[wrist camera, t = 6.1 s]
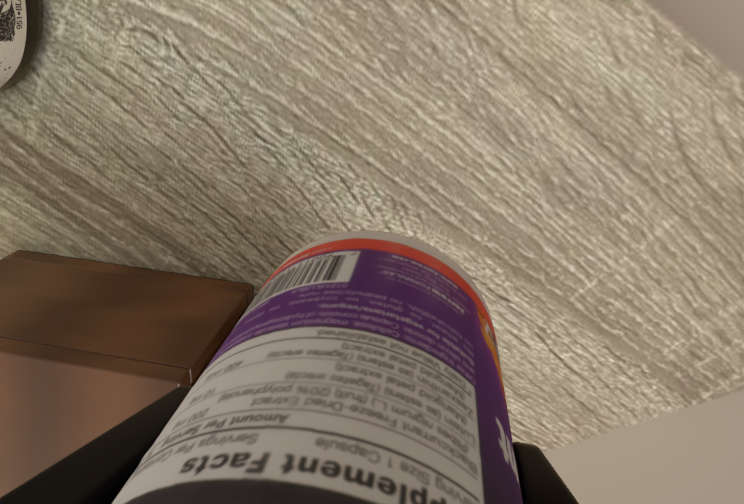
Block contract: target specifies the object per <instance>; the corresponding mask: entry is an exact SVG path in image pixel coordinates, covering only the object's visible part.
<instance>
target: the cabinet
mask: <svg viewBox="0 0 744 504" xmlns="http://www.w3.org/2000/svg"><path fill="white" fill-rule="evenodd" d="M252 301H253V285H250V284H244V283H237V282H230V281H223V280H217V279H210V278H203V277H196V276H190V275H183V274H176V273H169V272H163V271H156V270H149V269H143V268H136V267H129V266H122V265H116V264H109V263H102V262H95V261H89V260H82V259H75V258H68V257H62V256H55V255H48V254H41V253H35V252H28V251H21V250H18V251H16V252H15V253H13V254H11V255H9V256H7V257H5V258H3V259H1V260H0V497H2V496H4V495H5V494H7V493H8V492H10V491H12V490H13V489H15V488H16V487H18V486H20V485H21V484H23V483H25V482H26V481H28V480H29V479H31V478H33V477H34V476H36V475H37V474H39V473H41V472H42V471H44V470H45V469H47V468H49V467H50V466H52V465H53V464H55V463H57V462H58V461H60V460H61V459H63V458H65V457H66V456H68V455H69V454H71V453H73V452H74V451H76V450H78V449H79V448H81V447H82V446H84V445H86V444H87V443H89V442H90V441H92V440H94V439H95V438H97V437H98V436H100V435H102V434H103V433H105V432H106V431H108V430H110V429H111V428H113V427H114V426H116V425H118V424H119V423H121V422H122V421H124V420H126V419H127V418H129V417H130V416H132V415H134V414H135V413H137V412H139V411H140V410H142V409H143V408H145V407H147V406H148V405H150V404H151V403H153V402H155V401H156V400H158V399H159V398H161V397H163V396H164V395H166V394H167V393H169V392H171V391H172V390H174V389H175V388H177V387H179V386H191V383H193V381H194V380H195V379H196V377H197V376H198V374H199V373H200V372H201V370H202V369H203V367H204V366H205V365H206V363H207V362H208V360H209V359H210V358H211V356H212V355H213V353H214V352H215V351H216V349H217V348H218V346H219V345H220V344H221V342H222V341H223V339H224V338H225V337H226V335H227V334H228V332H229V331H230V330H231V328H232V327H233V325H234V324H235V322H236V321H237V320H238V319H239V320H240V319H241V317H242V316H243V314H244V313H245V311H246V310H247V309H248V307H249V306H250V304H251V303H252Z"/></svg>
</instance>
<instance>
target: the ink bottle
mask: <svg viewBox="0 0 744 504" xmlns="http://www.w3.org/2000/svg"><path fill="white" fill-rule="evenodd" d="M41 33H42V6H41V0H0V92H1V91H4V90H6V89H8V88H10V87H12V86H13V85H15V84H16V83H18V82H19V81H20V80H21V79H22V78H23V77H24V76H25V75H26V74H27V73H28V72H29V70H30V69H31V67H32V65H33V63H34V61H35V59H36V56H37V53H38V50H39V46H40V41H41Z"/></svg>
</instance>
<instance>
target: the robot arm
mask: <svg viewBox="0 0 744 504" xmlns="http://www.w3.org/2000/svg"><path fill="white" fill-rule="evenodd" d="M191 388H192V387H191V386H179V387H177V388H175V389H174V390H172V391H171V392H169V393H167V394H166V395H164V396H163V397H161V398H159V399H158V400H156V401H155V402H153V403H151V404H150V405H148V406H147V407H145V408H143V409H142V410H140V411H139V412H137V413H135V414H134V415H132V416H130V417H129V418H127V419H126V420H124V421H122V422H121V423H119V424H118V425H116V426H114V427H113V428H111V429H110V430H108V431H106V432H105V433H103V434H102V435H100V436H98V437H97V438H95V439H94V440H92V441H90V442H89V443H87V444H86V445H84V446H82V447H81V448H79V449H78V450H76V451H74V452H73V453H71V454H69V455H68V456H66V457H65V458H63V459H61V460H60V461H58V462H57V463H55V464H53V465H52V466H50V467H49V468H47V469H45V470H44V471H42V472H41V473H39V474H37V475H36V476H34V477H33V478H31V479H29V480H28V481H26V482H25V483H23V484H21V485H20V486H18V487H16V488H15V489H13V490H12V491H10V492H8V493H7V494H5V495H4V496H2V497H0V504H112V502H113V501H114V499H115V498H116V496H117V495H118V494H119V492H120V491H121V489H122V488H123V486H124V485H125V484H126V482H127V481H128V480H129V478H130V477H131V475H132V474H133V473H134V471H135V470H136V469H137V467H138V466H139V464H140V462H141V461H142V459H143V457H144V455H145V454H146V453H147V452H148V450H149V449H150V448H151V447H152V446H153V444H154V443H155V441H156V440H157V438H158V437H159V435H160V434H161V432H162V431H163V429H164V428H165V426H166V425H167V423H168V422H169V420H170V419H171V417H172V416H173V415H174V413H175V412H176V410H177V409H178V407H179V406H180V404H181V403H182V402H183V400H184V399H185V397H186V396H187V394H188V393H189V391H190V390H191ZM513 449H514V455H515V460H516V466H517V471H518V478H519V485H520V490H521V496H522V501H523V504H579V503H578V502H577V500H576V499H575V497H574V496H573V495H572V493H571V492H570V491H569V489H568V488H567V486H566V485H565V484H564V482H563V481H562V479H561V478H560V477H559V475H558V474H557V472H556V471H555V470H554V468H553V467H552V465H551V464H550V463H549V461H548V460H547V458H546V457H545V456H544V454H543V453H542V451H541V450H540V449H539V448H538V447H537V446H535V445H532V444H526V443H521V442H513Z"/></svg>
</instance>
